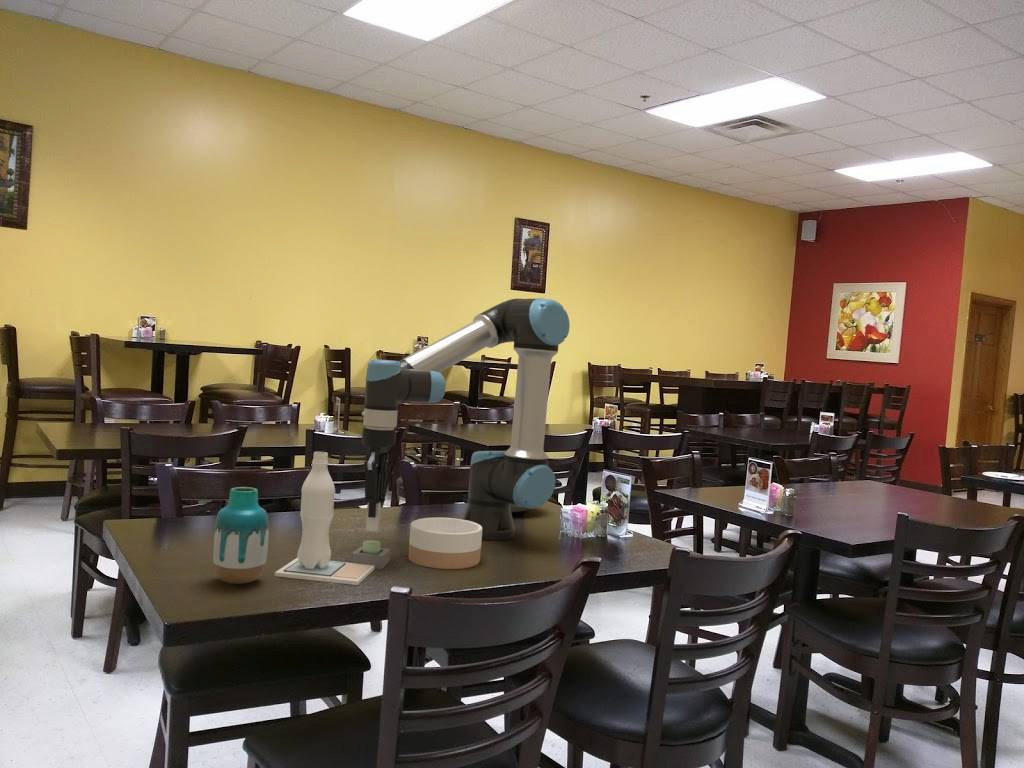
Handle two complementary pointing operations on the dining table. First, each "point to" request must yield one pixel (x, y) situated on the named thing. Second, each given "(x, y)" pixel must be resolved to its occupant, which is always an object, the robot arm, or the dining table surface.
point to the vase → (241, 538)
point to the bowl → (445, 543)
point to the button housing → (371, 558)
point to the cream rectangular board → (328, 572)
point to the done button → (371, 547)
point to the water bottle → (316, 514)
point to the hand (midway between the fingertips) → (372, 530)
